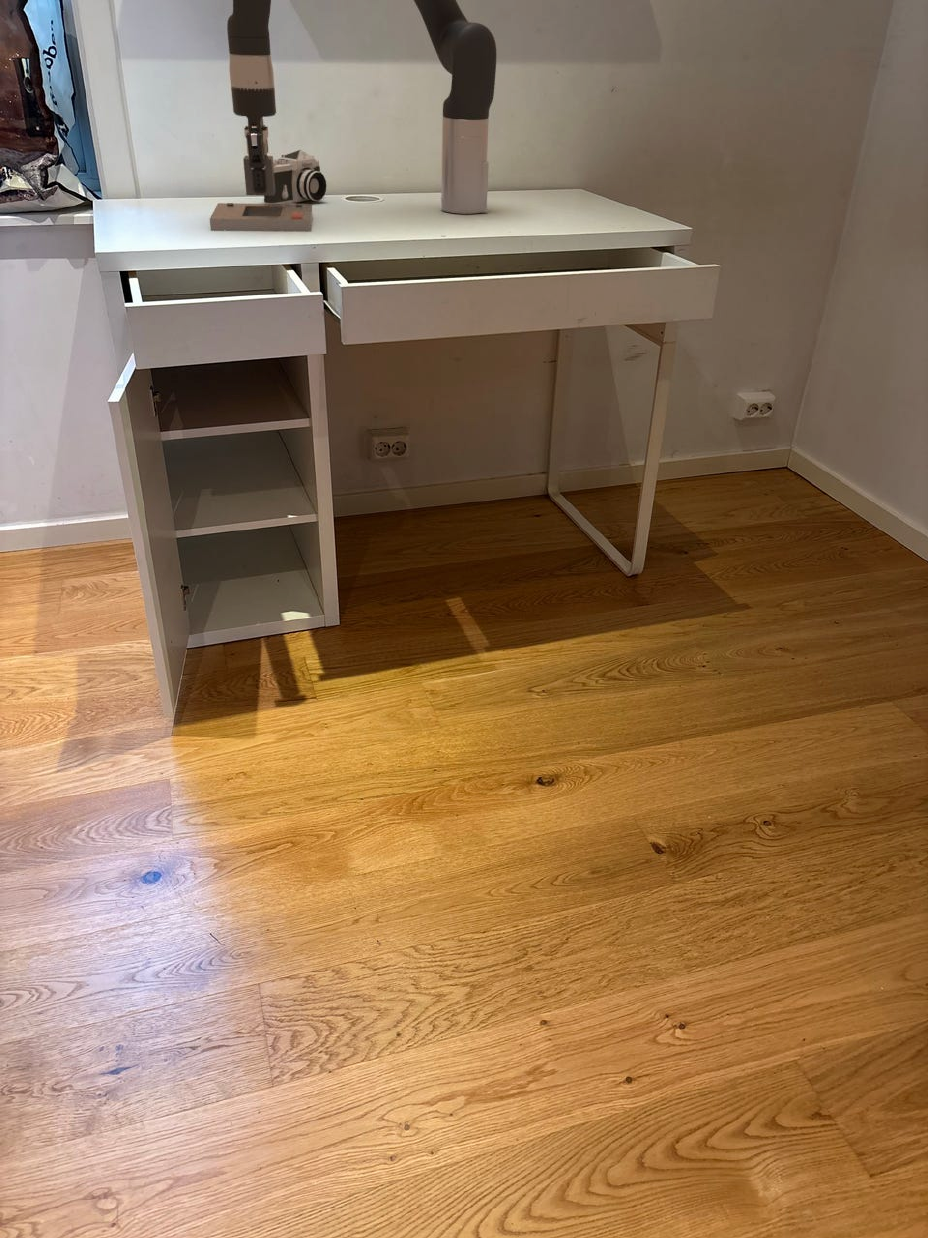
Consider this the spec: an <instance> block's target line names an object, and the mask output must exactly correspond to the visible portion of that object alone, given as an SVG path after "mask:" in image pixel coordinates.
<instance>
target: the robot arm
mask: <svg viewBox="0 0 928 1238" xmlns="http://www.w3.org/2000/svg"><path fill="white" fill-rule="evenodd" d="M413 1H414V4H415V5H416V7H417V10H418V11H419V13H420V15H421V18H422V19H423V22H424V24H425V27H426V30H427V32H428V34H429V35H428V36H429V38H430V40H431V43H432V46H433V48H434V51H435V53H436V56H437V59H438V60H439V63H440V65H442V67H443V68H444V70H445V71H446V72H447V73H449V74H450V75H451V84H450V86H451V88H450V92H449V94H448V97H447V98H445V99H444V101H443V103H442V123H441V124H442V128H441V129H442V132H441V133H442V134H441V192H440V193H441V196H440V201H441V202H440V208H441V211H443V212H447V213H452V214H465V215H467V214H470V215H471V214H480V213H487V212H488V211H487V210H488V192H489V191H488V189H489V188H488V186H489V168H490V167H489V165H490V163H489V161H488V147H489V145H488V144H489V124H490V123H489V122H490V118H489V117H490V108H491V106H492V103H493V101H494V95H495V85H496V72H497V45H496V40H495V37H494V34H493V33H492V32H491V30H490V29H489V28H488V27H487V26H486V25H484V24H482V23H478V22H471V21H469V20H467V18H466V16H465V15H464V13H463V11H462V9H461V7H460V5H459V3H458V1H457V0H413ZM271 5H272V0H232V13H231V14H230V15H229V16H228V19H227V26H226V27H227V28H226V30H227V41H228V52H229V67H228V68H229V77H230V78H229V79H230V91H231V103H232V111H233V113H234V115H235V116H238V117H239V116H240V117H246V118H247V125H245V127H244V129H243V130H244V137H245V139H246V152H247V156H249V161H250V163H249V166H250V168H251V170H252V174H253V186H254V192H255V193H265V192H266V180H265V168H266V165H265V160H264V158H265V157H266V156H269V155H268V153H269V140H268V138H269V127H268V126H266V125H265V124H264V118H266V117H268V118H270V117H273V116H276V114H277V106H276V94H275V93H276V90H275V77H274V68H273V67H274V66H273V62H272V56H271V54H272V53H271V43H270V40H271V39H270V30H269V24H270V23H269V21H270V16H271V15H270V14H271V8H272V7H271ZM254 156H260V159H261V161H259V160H253V159H254Z"/></svg>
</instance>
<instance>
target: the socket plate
mask: <svg viewBox="0 0 928 1238" xmlns="http://www.w3.org/2000/svg"><path fill="white" fill-rule="evenodd" d="M313 216H314V215H313V203H312V204H311V203H310V204H307V203H291V204H265V203H237V202H236V203H235V202H234V203H233V202H227V203H226V202H223V203H221V202H219V203H217V205H216V206H215V208H214V210H213V212H212V214H211V215H210V217H209V225H210V226H209V227H210V231H212V232H213V231H214V232H218V231H219V232H222V231H223V232H225V231H226V232H300V233H301V232H307V233H308V232H310V233H311V232H312V226H313V219H314V217H313ZM224 230H225V231H224Z"/></svg>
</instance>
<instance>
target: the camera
mask: <svg viewBox="0 0 928 1238" xmlns="http://www.w3.org/2000/svg"><path fill="white" fill-rule="evenodd" d="M273 166H274V180H275V194H274V196H269V195H263V202H264V204H298V203H301V202H306V201H311V202H315V203H316V202H319V201H320V200H322V199H323V198H324V196H325V194H326V192H327V180H326V178H325V176H324V174H323V172H321V166H320V160H319V159H316V158H315V155H313V154H309V153H307V152H305V151H304V150H302V149H299V150H296V151H293V152H290V153H287V154H282V155H281V158H277V159H273Z"/></svg>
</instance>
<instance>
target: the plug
mask: <svg viewBox="0 0 928 1238" xmlns="http://www.w3.org/2000/svg"><path fill="white" fill-rule="evenodd" d="M253 160H259V161H261V159H260V156H254V159H253ZM264 160H265V165H266V168H265V180H266V192H265V193H255V192H254V186H253V174H252V170H251V168H250V166H249V163H250V161H249V155H244V157H243V160H242V161H243V172H244V184H245V192H246V193H245V195H246V196H264V195H269V196H274V194H275V180H274V166H273V160H274V156H273V155H268V156H266V157H265V158H264Z"/></svg>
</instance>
